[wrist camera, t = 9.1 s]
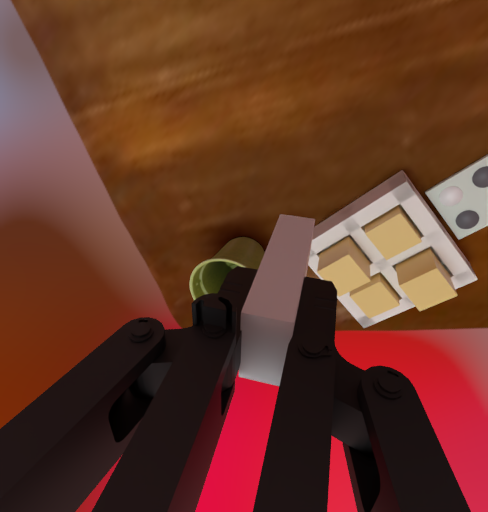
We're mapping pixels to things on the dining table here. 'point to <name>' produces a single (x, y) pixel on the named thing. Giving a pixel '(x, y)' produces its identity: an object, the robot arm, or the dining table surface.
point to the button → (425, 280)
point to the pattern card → (463, 198)
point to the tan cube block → (375, 296)
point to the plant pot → (225, 265)
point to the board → (353, 225)
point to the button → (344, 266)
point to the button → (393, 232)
